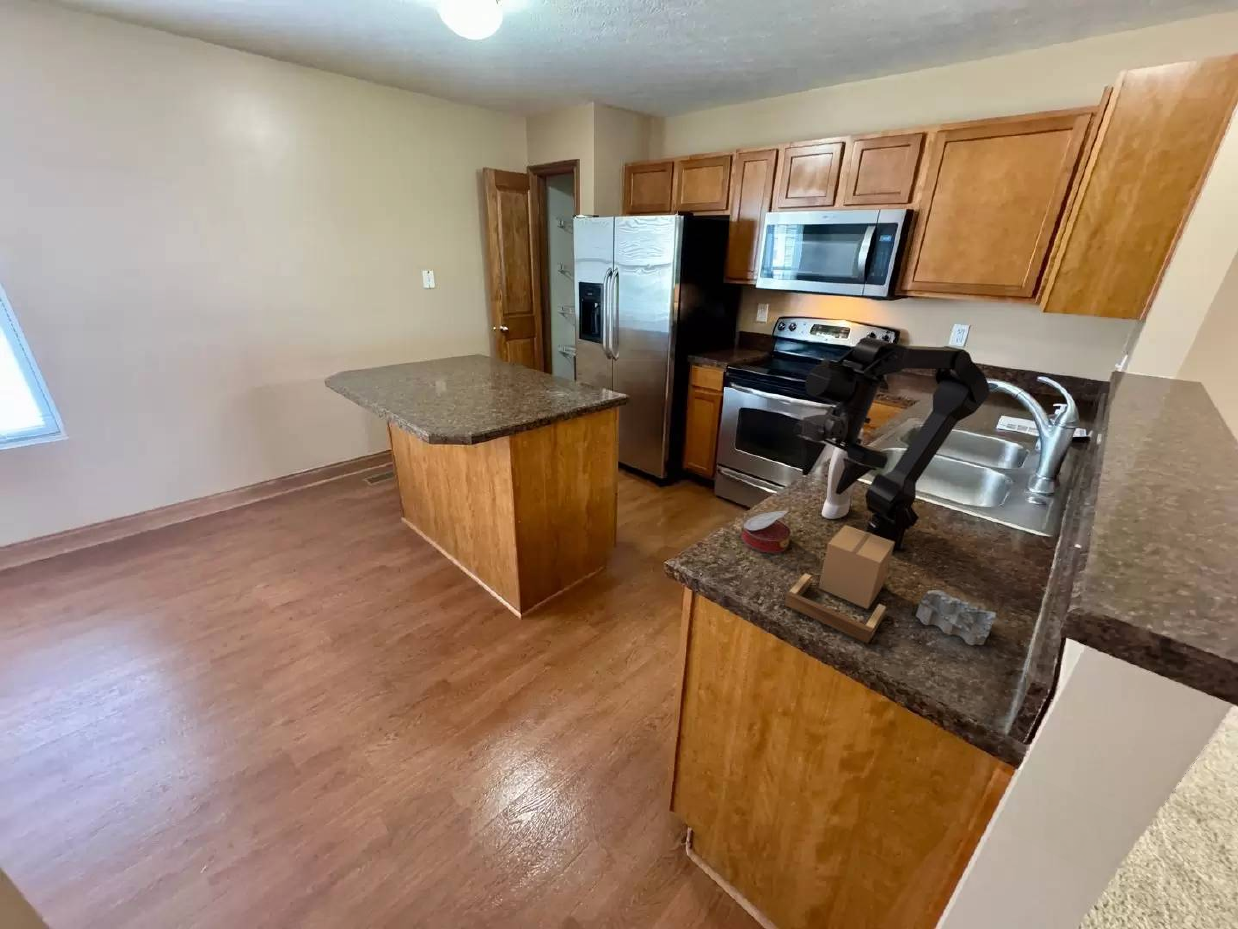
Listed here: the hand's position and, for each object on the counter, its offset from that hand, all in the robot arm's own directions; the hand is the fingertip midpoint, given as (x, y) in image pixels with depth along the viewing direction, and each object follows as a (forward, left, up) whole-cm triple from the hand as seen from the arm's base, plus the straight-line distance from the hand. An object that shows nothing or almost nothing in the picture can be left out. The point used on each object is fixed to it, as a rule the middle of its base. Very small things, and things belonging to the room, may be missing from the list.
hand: (820, 484), depth 99 cm
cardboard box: (-5, +9, -17) cm, 20 cm away
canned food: (+6, -8, -17) cm, 20 cm away
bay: (+1, +16, -17) cm, 23 cm away
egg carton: (-18, +20, -17) cm, 32 cm away
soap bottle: (-15, -21, -17) cm, 31 cm away
